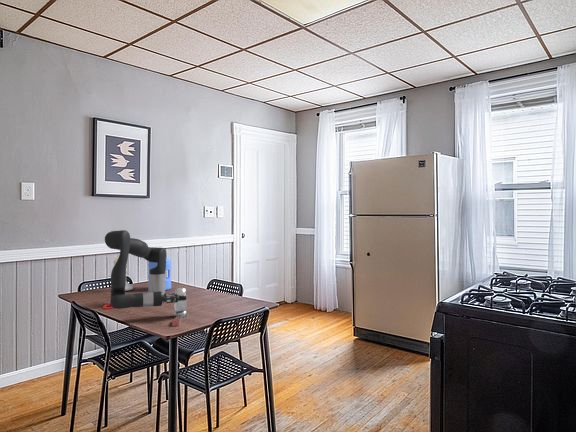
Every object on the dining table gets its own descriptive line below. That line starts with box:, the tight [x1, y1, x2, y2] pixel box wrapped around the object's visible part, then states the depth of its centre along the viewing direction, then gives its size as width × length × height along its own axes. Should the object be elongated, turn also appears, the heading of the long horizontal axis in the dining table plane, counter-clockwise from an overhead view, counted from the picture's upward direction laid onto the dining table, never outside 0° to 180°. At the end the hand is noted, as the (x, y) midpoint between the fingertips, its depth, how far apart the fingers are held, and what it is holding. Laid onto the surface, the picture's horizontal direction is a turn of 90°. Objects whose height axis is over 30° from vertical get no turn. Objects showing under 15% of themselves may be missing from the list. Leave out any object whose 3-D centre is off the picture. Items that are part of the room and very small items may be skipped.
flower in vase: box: [113, 255, 134, 292], centre depth 288 cm, size 13×11×25 cm
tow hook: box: [102, 302, 115, 310], centre depth 240 cm, size 8×13×9 cm
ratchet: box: [171, 310, 188, 327], centre depth 214 cm, size 22×6×7 cm, turn 7°
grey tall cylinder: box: [173, 287, 188, 311], centre depth 221 cm, size 6×6×11 cm
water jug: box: [147, 256, 172, 291], centre depth 294 cm, size 16×16×28 cm
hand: (185, 296), depth 222 cm, fingers closed on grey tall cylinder, 5 cm apart
